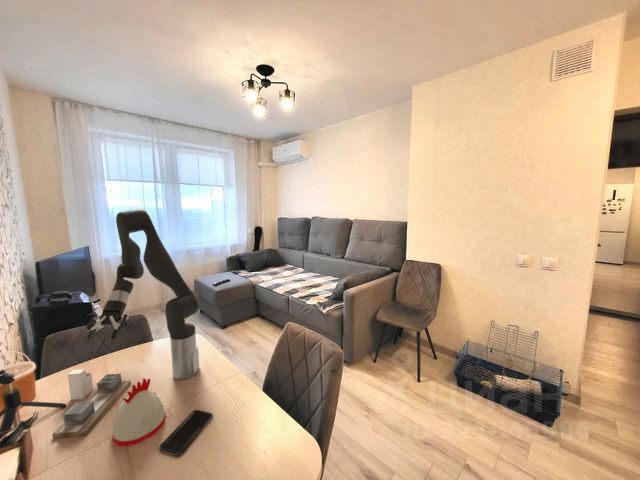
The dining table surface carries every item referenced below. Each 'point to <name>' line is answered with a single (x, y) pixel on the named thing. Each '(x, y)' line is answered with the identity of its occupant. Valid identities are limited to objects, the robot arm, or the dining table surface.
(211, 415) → the phone
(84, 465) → the dining table surface
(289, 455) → the dining table surface
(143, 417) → the kitchen timer
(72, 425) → the rail plate
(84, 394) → the block
